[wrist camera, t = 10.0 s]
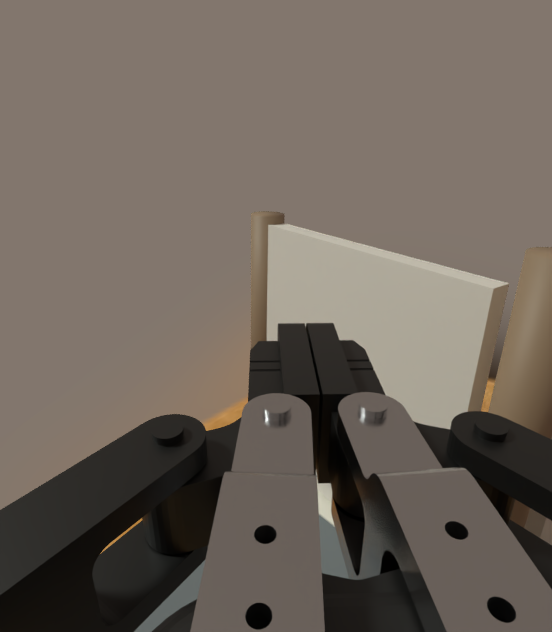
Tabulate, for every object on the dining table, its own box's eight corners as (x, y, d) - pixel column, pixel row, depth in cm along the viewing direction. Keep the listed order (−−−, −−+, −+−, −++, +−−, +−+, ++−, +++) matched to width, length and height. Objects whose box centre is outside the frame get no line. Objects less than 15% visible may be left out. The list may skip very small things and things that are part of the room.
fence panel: (448, 573, 21) (518, 270, 15) (423, 595, 20) (488, 279, 14) (267, 423, 31) (271, 210, 26) (245, 432, 30) (244, 213, 25)
